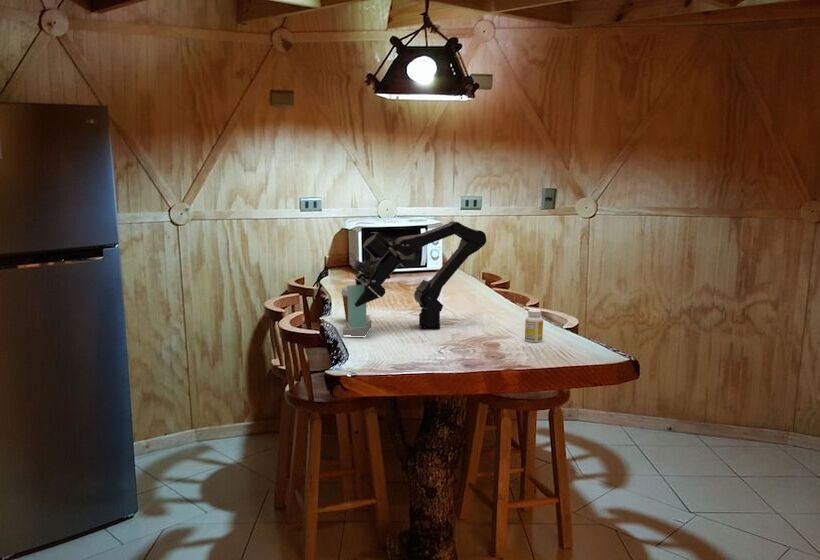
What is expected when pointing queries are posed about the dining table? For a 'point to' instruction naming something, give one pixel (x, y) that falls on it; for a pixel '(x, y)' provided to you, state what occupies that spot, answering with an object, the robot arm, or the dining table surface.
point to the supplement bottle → (534, 326)
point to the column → (356, 313)
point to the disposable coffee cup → (345, 301)
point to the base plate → (358, 329)
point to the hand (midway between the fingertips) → (352, 303)
